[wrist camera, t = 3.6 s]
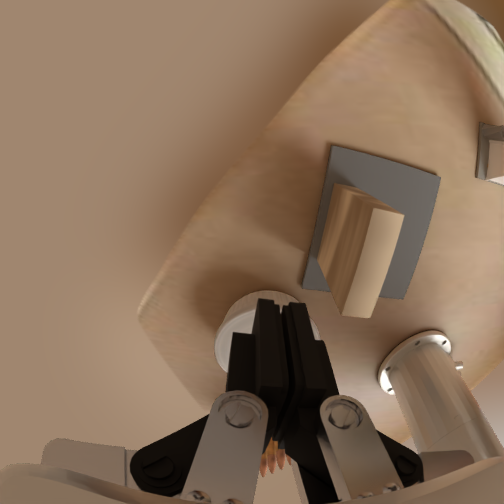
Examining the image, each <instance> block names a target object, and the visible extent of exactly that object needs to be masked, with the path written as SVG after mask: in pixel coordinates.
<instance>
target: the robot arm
mask: <svg viewBox="0 0 504 504" xmlns="http://www.w3.org/2000/svg"><path fill="white" fill-rule="evenodd" d="M450 352H451V344H450V341H449V339H448V338H447V337H446V335H445V334H443V333H442V332H439V331H425V332H422V333H419V334H416V335H414V336H412V337H410V338H408V339H407V340H405V341H404V342H402V343H401V344H399V345H398V346H397V347H396V348H395V349H394V350H393V351H392V352H391V353H390V354H389V355H388V356H387V357H386V359H385V360H384V361H383V363H382V365H381V367H380V369H379V372H378V382H379V384H380V387H381V388H382V390H383V391H385V392H386V393H389V394H395V396H396V398H397V400H398V403H399V405H400V408H401V410H402V412H403V415H404V417H405V420H406V422H407V425H408V427H409V430H410V432H411V435H412V438H413V440H414V443H415V446H416V448H417V451H418V454H416V453H415V452H414V451H412V450H410V449H409V448H407V447H405V446H403V445H401V444H400V443H398V442H396V441H394V440H393V439H391V438H389V437H388V436H386V435H384V434H383V433H381V432H379V431H377V430H376V429H375V427H374V425H373V423H372V421H371V419H370V417H369V415H368V413H367V411H366V409H365V408H364V406H363V405H362V404H361V403H360V402H359V401H358V400H356V399H354V398H352V397H349V396H345V395H339V392H338V388H337V384H336V381H335V377H334V373H333V370H332V366H331V363H330V359H329V356H328V352H327V349H326V346H325V343H324V341H323V340H315V337H314V333H313V329H312V326H311V322H310V318H309V314H308V311H307V307H306V304H305V303H297V302H289V304H288V305H283V307H282V311H281V312H280V305H279V304H274V300H271V299H262V298H258V301H257V306H256V311H255V317H254V322H253V327H252V333H251V334H248V333H239V332H233V333H232V340H231V347H230V355H229V364H228V373H227V383H226V393H224V394H222V395H220V396H219V397H218V398H217V399H216V400H215V402H214V403H213V405H212V408H211V411H210V414H208V415H206V416H205V417H203V418H201V419H199V420H197V421H196V422H194V423H192V424H190V425H188V426H186V427H184V428H182V429H180V430H178V431H177V432H174V433H172V434H171V435H168V436H166V437H164V438H163V439H160V440H158V441H156V442H154V443H152V444H150V445H148V446H145V447H143V448H142V449H140V450H138V451H137V450H126V449H125V447H118V446H108V445H100V444H93V443H86V442H80V441H74V440H69V439H59V438H58V439H54V440H52V441H50V442H49V443H48V444H47V445H46V446H45V448H44V451H43V455H42V461H41V464H29V463H25V464H24V463H23V464H12V465H9V466H6V467H5V468H3V469H2V470H0V504H253V500H254V495H255V489H256V484H257V479H258V474H259V468H260V463H261V457H262V454H264V453H265V451H266V449H267V446H268V444H269V442H270V440H271V437H272V440H273V441H277V442H278V449H285V454H287V455H288V456H289V457H290V458H291V466H292V469H293V473H294V477H295V481H296V484H297V488H298V491H299V495H300V499H301V502H302V504H504V448H503V446H502V445H501V443H500V441H499V439H498V438H497V436H496V435H495V433H494V431H493V429H492V427H491V426H490V424H489V422H488V420H487V418H486V417H485V415H484V413H483V411H482V410H481V408H480V406H479V405H478V403H477V401H476V400H475V398H474V396H473V395H472V393H471V391H470V390H469V388H468V386H467V385H466V383H465V382H464V380H463V378H462V377H461V372H460V371H457V370H460V369H462V368H463V362H462V361H459V362H454V361H453V359H452V358H451V356H450Z"/></svg>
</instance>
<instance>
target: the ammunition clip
mask: <svg viewBox="0 0 504 504" xmlns="http://www.w3.org/2000/svg"><path fill="white" fill-rule="evenodd" d="M286 457H287V460H288V462H289V464H290V465H291V458H290V457H289V456H288V455H287V454H286ZM276 458H277V463H278V466H279V468H280V469H281V470H282V469H283V467H284V464H285V449H278V442H277V441H273V440H272V437H271V440H270V442H269V444H268V446H267V449H266V451H265V453H264V454H262V457H261V463H260V473H261V475H262V477H265V475H266V472H267V466H268V467H269V470H270V472H271V473H272V474H273V473H274V471H275V467H276Z"/></svg>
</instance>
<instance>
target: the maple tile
mask: <svg viewBox="0 0 504 504" xmlns="http://www.w3.org/2000/svg"><path fill="white" fill-rule="evenodd" d="M403 219H404V215H403V214H402V213H400V212H399V211H397V210H395V209H394V208H392V207H390V206H388V205H387V204H385V203H383V202H382V201H380V200H378V199H376V198H375V197H373V196H371V195H369V194H367V193H366V192H364V191H362V190H360V189H358V188H356V187H351V186H347V185H342V184H337V183H334V186H333V191H332V196H331V200H330V205H329V210H328V214H327V219H326V223H325V228H324V232H323V236H322V241H321V245H320V249H319V253H318V257H317V261H318V263H319V266H320V268H321V270H322V272H323V275H324V277H325V279H326V281H327V284H328V286H329V288H330V291H331V293H332V295H333V297H334V300H335V302H336V305H337V307H338V309H339V312H340V314H341V316H349V317H362V318H370V317H371V314H372V312H373V309H374V307H375V304H376V302H377V299H378V296H379V294H380V291H381V288H382V286H383V283H384V280H385V277H386V274H387V271H388V268H389V265H390V262H391V259H392V256H393V253H394V250H395V247H396V243H397V240H398V237H399V233H400V230H401V226H402V223H403Z"/></svg>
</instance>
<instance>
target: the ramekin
mask: <svg viewBox="0 0 504 504" xmlns="http://www.w3.org/2000/svg"><path fill="white" fill-rule="evenodd" d="M258 298H262V299H271V300H274V304H279V305H280V312H281V311H282V307H283V305H288V304H289V302H297V303H300V302H299V301H298V300H296V299H295V298H294V297H291V296H290V295H288V294H285V293H282V292H278V291H268V290H265V291H258V292H254V293H250V294H248V295H245V296H244V297H242V298H240V299H239V300H238V301H236V302H235V303H234V304H233V305H232V306H231V308H230V309H229V310H228V312H227V314H226V316H225V318H224V321H223V323H222V324H221V325H220V327H219V328H218V330H217V333H216V336H215V340H214V354H215V357H216V360H217V362H218V364H219V365H220V367H221V368H222V369H223V370H224V371H225V372H226V373H228V364H229V355H230V347H231V340H232V333H233V332H239V333H248V334H251V333H252V327H253V322H254V317H255V311H256V306H257V301H258ZM309 318H310V317H309ZM310 322H311V326H312V329H313V333H314V337H315V340H321V339H320V334H319V331H318V328H317V326H316V324H315V323H314V321H313V320H312V319H311V318H310Z"/></svg>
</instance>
